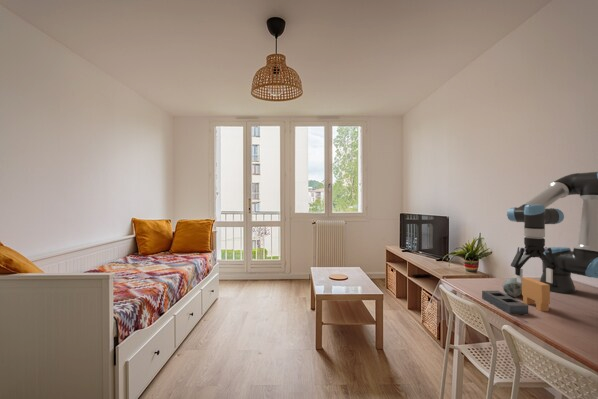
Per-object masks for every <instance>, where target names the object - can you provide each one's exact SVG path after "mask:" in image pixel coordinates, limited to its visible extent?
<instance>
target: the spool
mask: <svg viewBox="0 0 598 399" xmlns="http://www.w3.org/2000/svg"><path fill="white" fill-rule="evenodd" d="M502 289H503V291H504V292H505V294H506V295H508V296H510V297H512V298H516V297H520V295H522V283H519V282H517V277H510V278H508V279H506V280H505V281H504V283H503V285H502Z"/></svg>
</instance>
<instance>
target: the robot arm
mask: <svg viewBox="0 0 598 399" xmlns="http://www.w3.org/2000/svg"><path fill="white" fill-rule="evenodd" d="M571 195H572V196H573V195H579V198H580V199H581V200H582V201H583V202H582V207H581V209H582V210H581V219H580V225H579V226H580V227H579V232H578V233H579V234H578V242H577V245H576V246H575V247H573V248H572V249H573V250H571V247H566V246H563V247H561V246H558V247H555V246H551V247H546V239H545V237H546V228H545V226H546V225H556V224H560V223H562V222H563V221H564V219H565V214H564V212H563V211H562V210H561V209H559V208H555V207H554V208H553V207H550V208H548V207H549V206H550V205H552V204H554V203H555V202H557V201H558V200H560V199H563V198H566V197H568V196H571ZM506 216H507V219H508V221H511V222H516V223H523V224H524V226H523V227H524V228H523V232H524V233H523V235H524V238H523V242H524V247H520V246H518V247H517V251H516V253H515V256H514V257H513V259H512V261H511V263H510V267H513V268H514V273H515V274H514V275H516V278H517V282H519V283H523V278H524V277H523V269H522V267H523V266H525V264H526V263H527V262H528V261H529V260H530V259H531V258H538V259H540V260H541V261H542V262H541V263H542V274H541V276H540V279H539V281H540V282H543V283H545V284H548V285H550V292H554V293H560V294H574V293H576V286H575V284H574V281H573V279H572V276H571V275H572V274H574V275H579V276H583V277H587V278H594V279H598V171H592V172H591V171H590V172H576V173H571V174H568V175H564V176H562V177H560V178H558V179H556V180H554V181H553V182H551V183H549V185H548V186H547V188H546V189H544V190H542V191H541V192H540V193H538V194H537V195H535V196H534V197H532V198H531V199H529V200H527V201H526V202H524V203H523V204H522V205H520V206H519V207H518V206H517V207H509V209H508V210H507V211H506Z"/></svg>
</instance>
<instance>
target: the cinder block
mask: <svg viewBox="0 0 598 399" xmlns="http://www.w3.org/2000/svg"><path fill="white" fill-rule="evenodd" d="M481 299H482V300H484V301H485V302H487V303H489V304H491V305H493V306H494V307H496V308H498V309H500V310H501V311H503V312H505V313H507V314H508V315H509V316H511V315H512V314H528V315H529V304H525V303H523V301H520V300H518V299H516V298H515V297H513V296H510V295H508V294H507V293H504V292H502V291H500V290H481ZM512 316H513V315H512Z"/></svg>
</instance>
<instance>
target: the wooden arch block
mask: <svg viewBox="0 0 598 399" xmlns="http://www.w3.org/2000/svg"><path fill="white" fill-rule="evenodd" d="M550 293H551V291H550V285H548V284H545V283H543V282H540V280H536V279H534V278H531V277H523V283H522V293H521V295H522V303H524V304H526V305H535V306H536V307H535V309H536V310H538V311H539V312H548V311H550V310H549V305H550V304H551V294H550Z"/></svg>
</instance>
